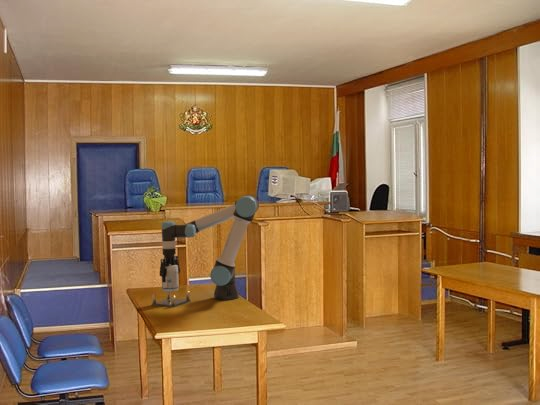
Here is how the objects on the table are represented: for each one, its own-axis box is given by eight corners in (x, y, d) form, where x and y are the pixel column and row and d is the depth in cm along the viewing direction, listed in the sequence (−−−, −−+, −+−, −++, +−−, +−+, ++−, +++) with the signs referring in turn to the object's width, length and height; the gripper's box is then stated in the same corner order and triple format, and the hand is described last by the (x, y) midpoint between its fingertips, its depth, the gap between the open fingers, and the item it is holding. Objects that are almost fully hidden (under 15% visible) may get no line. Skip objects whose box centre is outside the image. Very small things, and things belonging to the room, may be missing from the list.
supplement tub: (159, 292, 353) (158, 266, 353) (165, 289, 363) (164, 264, 362) (176, 292, 352) (175, 266, 351) (180, 288, 361) (179, 264, 361)
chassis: (190, 301, 361) (190, 291, 361) (174, 307, 347) (173, 296, 347) (168, 299, 368) (168, 289, 368) (151, 305, 354) (151, 294, 354)
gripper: (175, 245, 368) (176, 282, 369) (151, 250, 348) (153, 289, 349) (185, 245, 364) (186, 283, 365) (162, 250, 345) (164, 290, 346)
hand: (170, 286), depth 357 cm, fingers closed on supplement tub, 9 cm apart
